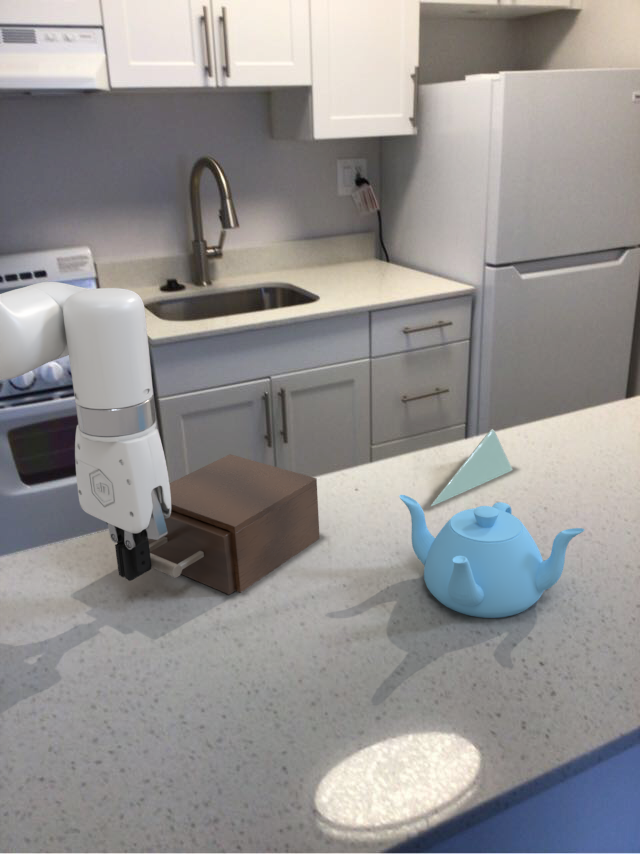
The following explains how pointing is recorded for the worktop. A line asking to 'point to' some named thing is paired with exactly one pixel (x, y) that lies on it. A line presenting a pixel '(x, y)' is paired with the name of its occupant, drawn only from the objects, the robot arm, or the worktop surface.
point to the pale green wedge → (478, 468)
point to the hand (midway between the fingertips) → (135, 572)
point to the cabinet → (252, 511)
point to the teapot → (485, 560)
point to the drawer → (195, 552)
